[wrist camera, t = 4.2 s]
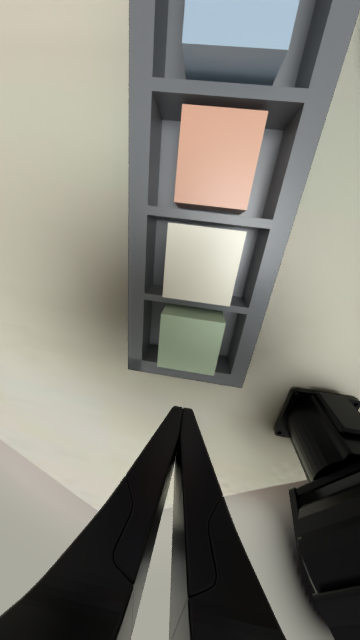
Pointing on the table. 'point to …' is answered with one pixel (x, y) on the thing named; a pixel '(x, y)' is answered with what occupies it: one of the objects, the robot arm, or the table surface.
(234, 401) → the table surface
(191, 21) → the key blue
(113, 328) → the table surface
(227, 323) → the gray cubby shelf
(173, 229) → the key cream
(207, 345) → the key sage
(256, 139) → the key terracotta
